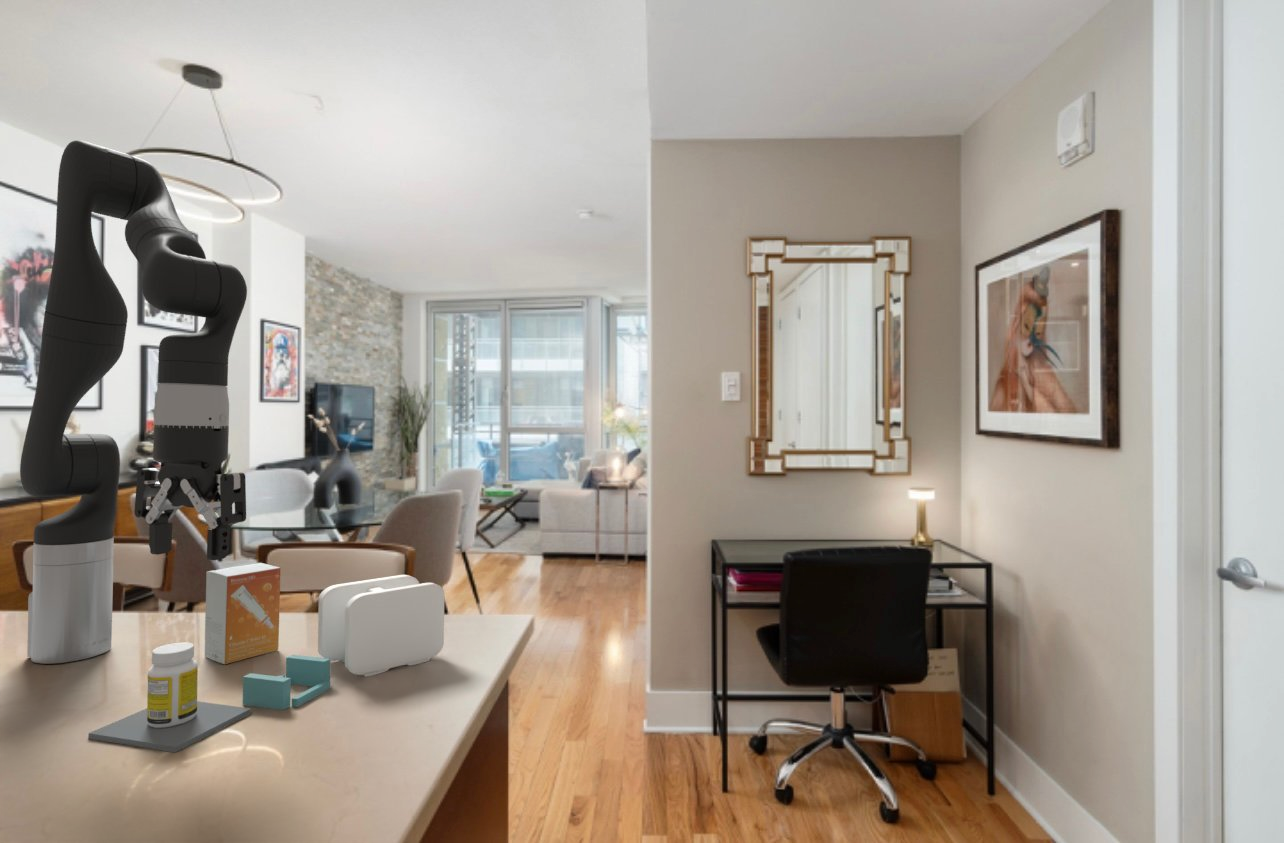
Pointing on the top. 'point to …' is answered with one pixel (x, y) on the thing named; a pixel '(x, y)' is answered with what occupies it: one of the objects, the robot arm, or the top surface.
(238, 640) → the small box
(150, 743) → the mat
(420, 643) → the cable organizer
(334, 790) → the top surface
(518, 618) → the top surface
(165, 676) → the supplement bottle
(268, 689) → the teal corner cradle
